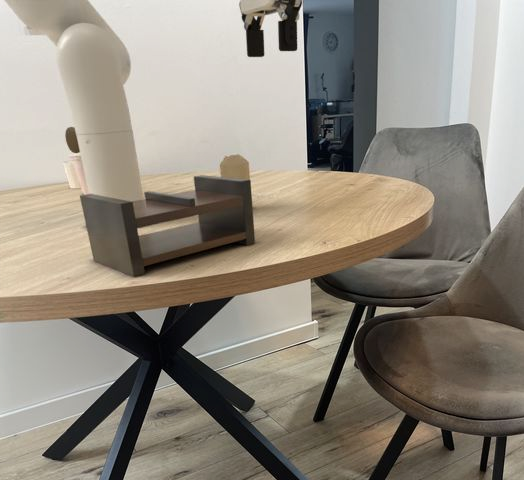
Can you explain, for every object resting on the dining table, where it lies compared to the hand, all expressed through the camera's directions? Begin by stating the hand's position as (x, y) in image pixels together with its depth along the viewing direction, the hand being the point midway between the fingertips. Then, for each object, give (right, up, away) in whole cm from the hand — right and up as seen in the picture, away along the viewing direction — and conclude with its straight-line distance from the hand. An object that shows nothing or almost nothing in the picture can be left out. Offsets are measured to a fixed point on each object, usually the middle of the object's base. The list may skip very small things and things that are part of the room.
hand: (271, 54), depth 84 cm
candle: (-6, -22, +16) cm, 27 cm away
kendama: (-40, -13, +38) cm, 57 cm away
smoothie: (-46, -8, +49) cm, 68 cm away
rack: (-14, -35, -11) cm, 39 cm away
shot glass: (-54, -2, +62) cm, 82 cm away
